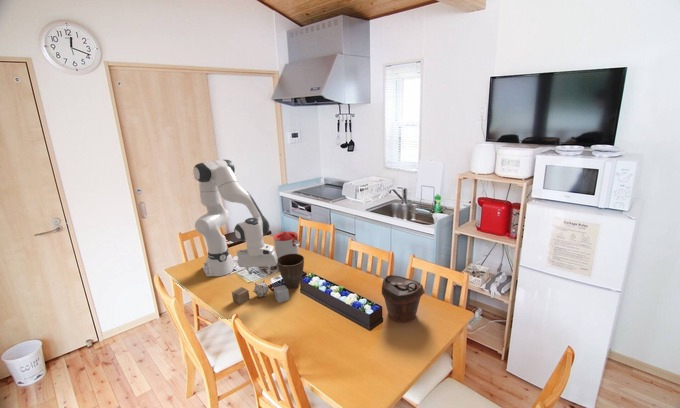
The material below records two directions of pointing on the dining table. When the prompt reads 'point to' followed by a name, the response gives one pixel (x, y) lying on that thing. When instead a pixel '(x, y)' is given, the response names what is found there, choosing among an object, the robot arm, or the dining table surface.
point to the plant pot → (291, 269)
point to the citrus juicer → (286, 243)
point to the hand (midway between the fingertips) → (259, 273)
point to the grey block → (281, 293)
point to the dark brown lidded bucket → (401, 297)
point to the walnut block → (240, 296)
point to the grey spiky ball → (261, 289)
